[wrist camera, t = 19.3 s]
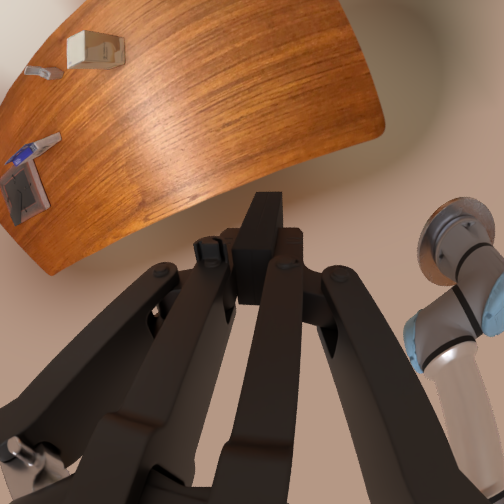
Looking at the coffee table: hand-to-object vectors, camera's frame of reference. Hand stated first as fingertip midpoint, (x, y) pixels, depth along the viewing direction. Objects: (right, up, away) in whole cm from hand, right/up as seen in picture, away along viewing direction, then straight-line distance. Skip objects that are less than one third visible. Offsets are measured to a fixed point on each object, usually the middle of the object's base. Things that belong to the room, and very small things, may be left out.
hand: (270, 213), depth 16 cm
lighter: (-46, +39, +23) cm, 64 cm away
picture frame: (-67, +16, +41) cm, 80 cm away
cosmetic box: (-27, +36, +21) cm, 50 cm away
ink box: (-50, +24, +33) cm, 64 cm away
